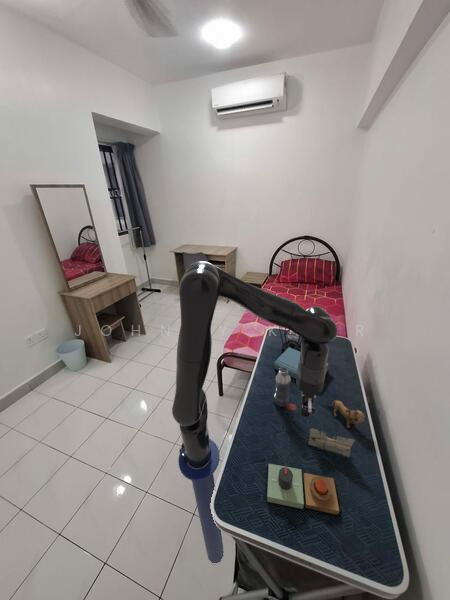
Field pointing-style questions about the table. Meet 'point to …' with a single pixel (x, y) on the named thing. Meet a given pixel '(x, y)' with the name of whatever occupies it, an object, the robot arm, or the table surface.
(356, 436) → the table surface
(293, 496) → the green dial box
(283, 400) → the plastic bottle
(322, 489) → the button
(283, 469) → the knob
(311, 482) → the button box
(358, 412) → the lion figurine
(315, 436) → the comb
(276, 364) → the book
